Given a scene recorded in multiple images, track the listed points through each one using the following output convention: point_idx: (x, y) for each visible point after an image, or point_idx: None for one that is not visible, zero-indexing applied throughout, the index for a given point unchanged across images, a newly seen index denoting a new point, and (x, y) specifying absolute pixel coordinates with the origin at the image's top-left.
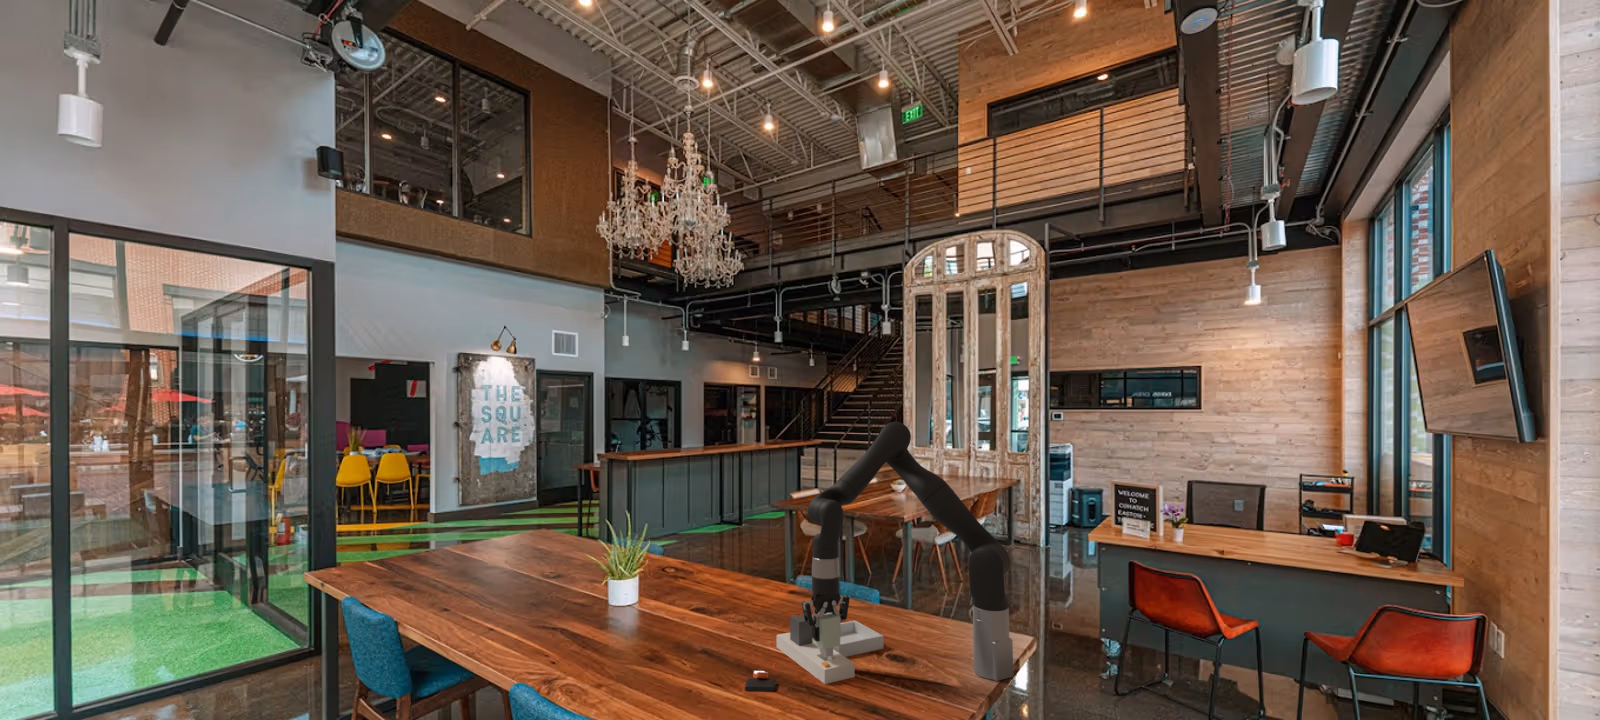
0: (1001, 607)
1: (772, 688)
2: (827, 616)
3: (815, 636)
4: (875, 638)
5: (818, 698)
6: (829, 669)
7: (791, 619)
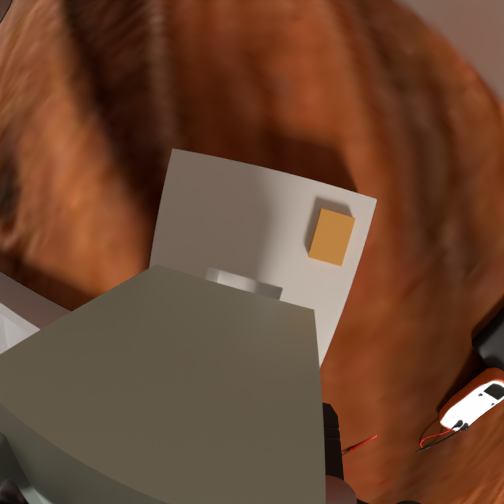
0: None
1: None
2: None
3: (328, 420)
4: None
5: (462, 128)
6: (343, 189)
7: None
